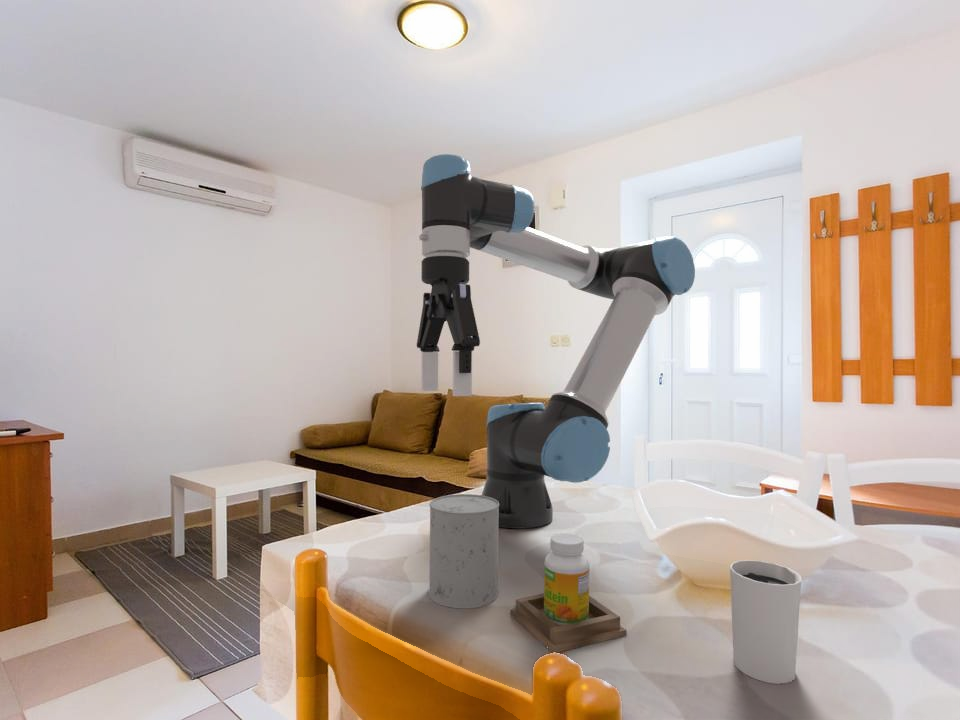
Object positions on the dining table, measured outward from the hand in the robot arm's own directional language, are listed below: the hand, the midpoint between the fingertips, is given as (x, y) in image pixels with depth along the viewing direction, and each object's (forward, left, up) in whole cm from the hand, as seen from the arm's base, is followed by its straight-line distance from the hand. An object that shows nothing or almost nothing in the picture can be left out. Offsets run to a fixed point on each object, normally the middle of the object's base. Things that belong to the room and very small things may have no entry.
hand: (444, 393), depth 84 cm
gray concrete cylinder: (+1, +12, -27) cm, 29 cm away
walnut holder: (-7, +25, -27) cm, 37 cm away
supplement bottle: (-7, +24, -26) cm, 36 cm away
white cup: (-21, +41, -27) cm, 53 cm away
